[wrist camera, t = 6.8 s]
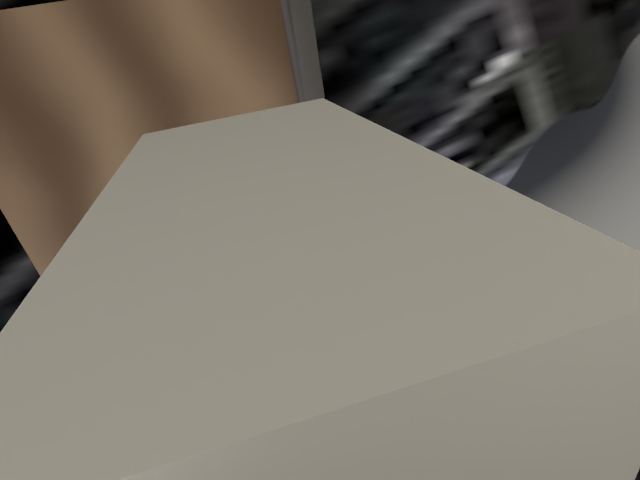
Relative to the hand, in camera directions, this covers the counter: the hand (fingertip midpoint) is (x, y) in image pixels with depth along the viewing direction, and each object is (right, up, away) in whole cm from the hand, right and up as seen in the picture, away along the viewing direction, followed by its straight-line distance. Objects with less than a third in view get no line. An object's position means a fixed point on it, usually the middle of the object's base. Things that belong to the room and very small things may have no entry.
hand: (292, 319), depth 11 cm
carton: (-1, +1, +3) cm, 3 cm away
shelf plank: (-8, +6, +13) cm, 17 cm away
